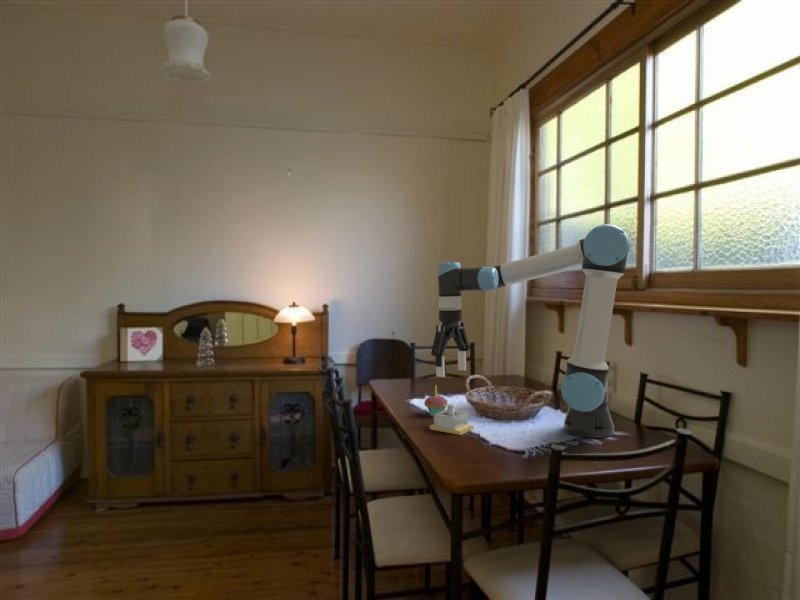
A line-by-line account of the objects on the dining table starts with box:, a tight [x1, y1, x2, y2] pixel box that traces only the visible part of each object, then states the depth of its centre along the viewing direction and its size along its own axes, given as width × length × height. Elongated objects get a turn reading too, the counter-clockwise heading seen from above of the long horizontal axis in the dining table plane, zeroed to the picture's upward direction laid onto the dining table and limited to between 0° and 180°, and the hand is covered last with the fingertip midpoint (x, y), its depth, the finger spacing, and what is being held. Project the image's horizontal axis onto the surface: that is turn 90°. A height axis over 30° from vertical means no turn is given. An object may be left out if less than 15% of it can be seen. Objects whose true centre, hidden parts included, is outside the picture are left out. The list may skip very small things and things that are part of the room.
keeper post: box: [429, 403, 474, 436], centre depth 167 cm, size 12×8×8 cm, turn 52°
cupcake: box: [423, 385, 449, 418], centre depth 185 cm, size 9×8×12 cm
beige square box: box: [433, 408, 469, 430], centre depth 168 cm, size 8×8×4 cm
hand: (451, 373), depth 167 cm, fingers open, 13 cm apart
